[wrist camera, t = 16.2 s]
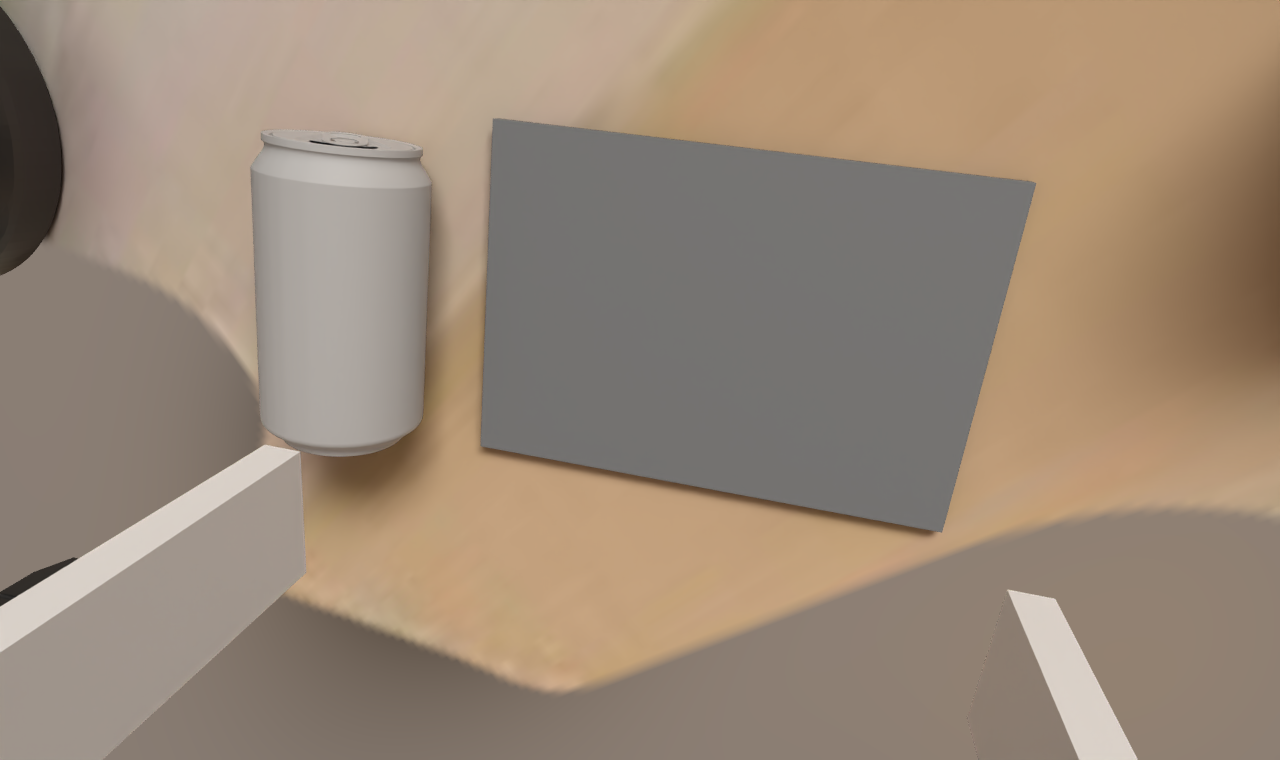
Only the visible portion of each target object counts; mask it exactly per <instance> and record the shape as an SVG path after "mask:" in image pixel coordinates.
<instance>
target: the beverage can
mask: <svg viewBox="0 0 1280 760" xmlns="http://www.w3.org/2000/svg"><path fill="white" fill-rule="evenodd" d="M261 140H262V141H263V142H264V147H263V149H262V151H261V152H260V154H259V155H258V156H257V157H256V159H255V160H254V162H253V163H252V165H251V193H252V218H253V244H254V270H255V296H256V321H257V347H258V373H259V399H260V418H261V421H262V424H263V426H264V427H265V428H266V429H267V430H268V431H269V432H270V433H272V434H273V435H275V436H277V437H279V438H281V439H283V440H284V441H285V442H286V443H287V444H288V445H290V446H291V447H293V448H295V449H297V450H300V451H303V452H306V453H311V454H315V455H321V456H333V457H346V456H358V455H365V454H370V453H374V452H378V451H381V450H384V449H386V448H388V447H390V446H392V445H394V444H395V443H397V442H398V441H399V440H400V439H401V438H402V437H403V436H405V435H407V434H409V433H410V432H412V431H413V430H414V429H415V428H416V427H417V426H418V425H419V424H420V422H421V420H422V418H423V407H424V380H425V353H426V326H427V299H428V273H429V246H430V219H431V192H432V182H431V180H430V178H429V176H428V174H427V173H426V171H425V169H424V168H423V166H422V164H421V161H420V157H421V156H423V148H422V147H420V146H417V145H414V144H410V143H406V142H401V141H395V140H389V139H383V138H376V137H369V136H363V135H359V134H354V133H346V132H322V131H307V130H264V131H261Z"/></svg>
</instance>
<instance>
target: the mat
mask: <svg viewBox="0 0 1280 760" xmlns="http://www.w3.org/2000/svg"><path fill="white" fill-rule="evenodd" d="M1035 186H1036V183H1034V182H1030V181H1022V180H1013V179H1005V178H996V177H988V176H979V175H971V174H962V173H954V172H946V171H937V170H929V169H920V168H912V167H903V166H895V165H887V164H878V163H870V162H861V161H853V160H844V159H836V158H827V157H819V156H811V155H802V154H794V153H785V152H777V151H768V150H760V149H751V148H743V147H735V146H726V145H718V144H709V143H701V142H692V141H684V140H675V139H667V138H659V137H650V136H642V135H633V134H625V133H616V132H608V131H599V130H591V129H583V128H574V127H566V126H557V125H549V124H540V123H532V122H523V121H515V120H507V119H493V132H492V158H491V184H490V211H489V237H488V264H487V290H486V316H485V343H484V369H483V396H482V422H481V446H482V447H488V448H493V449H498V450H504V451H509V452H514V453H520V454H525V455H530V456H536V457H541V458H546V459H552V460H557V461H562V462H568V463H573V464H578V465H584V466H589V467H595V468H600V469H605V470H611V471H616V472H621V473H627V474H632V475H637V476H643V477H648V478H653V479H659V480H664V481H669V482H675V483H680V484H685V485H691V486H696V487H701V488H707V489H712V490H717V491H723V492H728V493H734V494H739V495H744V496H750V497H755V498H760V499H766V500H771V501H776V502H782V503H787V504H792V505H798V506H803V507H808V508H814V509H819V510H824V511H830V512H835V513H840V514H846V515H851V516H856V517H862V518H867V519H872V520H878V521H883V522H889V523H894V524H899V525H905V526H910V527H915V528H921V529H926V530H931V531H937V532H942V531H943V527H944V523H945V520H946V516H947V512H948V509H949V505H950V501H951V497H952V494H953V490H954V486H955V483H956V479H957V475H958V472H959V468H960V464H961V460H962V457H963V453H964V449H965V446H966V442H967V438H968V434H969V431H970V427H971V423H972V420H973V416H974V412H975V408H976V405H977V401H978V397H979V394H980V390H981V386H982V382H983V379H984V375H985V371H986V368H987V364H988V360H989V356H990V353H991V349H992V345H993V342H994V338H995V334H996V331H997V327H998V323H999V319H1000V316H1001V312H1002V308H1003V305H1004V301H1005V297H1006V293H1007V290H1008V286H1009V282H1010V279H1011V275H1012V271H1013V267H1014V264H1015V260H1016V256H1017V253H1018V249H1019V245H1020V241H1021V238H1022V234H1023V230H1024V227H1025V223H1026V219H1027V215H1028V212H1029V208H1030V204H1031V201H1032V197H1033V193H1034V189H1035Z"/></svg>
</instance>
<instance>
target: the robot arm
mask: <svg viewBox="0 0 1280 760" xmlns="http://www.w3.org/2000/svg"><path fill="white" fill-rule="evenodd" d="M60 185H61V148H60V139H59V133H58V127H57V122H56V118H55V113H54V109H53V106H52V103H51V99H50V96H49V93H48V90H47V87H46V85H45V82H44V80H43V77H42V75H41V72H40V70H39V68H38V66H37V64H36V62H35V60H34V57H33V56H32V54H31V52H30V50H29V48H28V46H27V44H26V43H25V41H24V39H23V38H22V36H21V35H20V33H19V31H18V30H17V28H16V27H15V25H14V24H13V23H12V21H11V20H10V18H9V17H8V16H7V14H6V13H5V12H4V10H3V9H2V8H1V7H0V275H2V274H5V273H7V272H9V271H11V270H13V269H14V268H16V267H17V266H19V265H20V264H21V263H23V262H24V261H25V260H26V259H28V258H29V257H30V255H32V254H33V252H34V251H35V250H36V249H37V248H38V246H39V245H40V243H41V242H42V240H43V239H44V237H45V235H46V233H47V231H48V230H49V227H50V225H51V223H52V220H53V217H54V214H55V211H56V207H57V203H58V199H59V192H60ZM305 573H306V556H305V536H304V515H303V494H302V474H301V453H300V452H299V451H294V450H289V449H284V448H279V447H274V446H269V445H264V446H262V447H260V448H259V449H257V450H255V451H254V452H252V453H251V454H249V455H247V456H246V457H244V458H242V459H241V460H239V461H237V462H236V463H234V464H233V465H231V466H229V467H228V468H226V469H224V470H223V471H221V472H220V473H218V474H216V475H215V476H213V477H211V478H210V479H208V480H207V481H205V482H203V483H202V484H200V485H198V486H197V487H195V488H193V489H192V490H190V491H189V492H187V493H185V494H184V495H182V496H180V497H179V498H177V499H175V500H174V501H172V502H170V503H169V504H167V505H166V506H164V507H162V508H161V509H159V510H157V511H156V512H154V513H153V514H151V515H149V516H148V517H146V518H144V519H143V520H141V521H139V522H138V523H136V524H135V525H133V526H131V527H130V528H128V529H126V530H125V531H123V532H122V533H120V534H118V535H117V536H115V537H113V538H112V539H110V540H108V541H107V542H105V543H103V544H102V545H100V546H99V547H97V548H95V549H94V550H92V551H90V552H89V553H87V554H86V555H84V556H83V557H81V558H79V559H77V558H71V559H68V560H66V561H63V562H60V563H58V564H55V565H52V566H50V567H47V568H44V569H41V570H39V571H36V572H33V573H32V574H30V575H28V576H27V577H25V578H23V579H21V580H20V581H18V582H16V583H15V584H13V585H11V586H10V587H8V588H6V589H5V590H3V591H1V592H0V760H102V759H104V758H105V757H106V756H107V755H108V754H109V753H110V752H111V751H112V750H113V749H115V748H116V747H117V746H118V745H119V744H120V743H121V742H122V741H123V740H124V739H125V738H127V737H128V736H129V735H130V734H131V733H132V732H133V731H134V730H135V729H136V728H137V727H138V726H140V725H141V724H142V723H143V722H144V721H145V720H146V719H147V718H148V717H149V716H151V715H152V714H153V713H154V712H155V711H156V710H157V709H158V708H159V707H160V706H161V705H162V704H164V703H165V702H166V701H167V700H168V699H169V698H170V697H171V696H172V695H173V694H174V693H176V692H177V691H178V690H179V689H180V688H181V687H182V686H183V685H184V684H185V683H186V682H188V680H190V679H191V678H192V677H193V676H194V675H195V674H196V673H197V672H198V671H200V670H201V669H202V668H203V667H204V666H205V665H206V664H207V663H208V662H209V661H210V660H211V659H213V658H214V657H215V656H216V655H217V654H218V653H219V652H220V651H221V650H222V649H224V647H226V646H227V645H228V644H229V643H230V642H231V641H232V640H233V639H234V638H235V637H237V636H238V635H239V634H240V633H241V632H242V631H243V630H244V629H245V628H246V627H247V626H248V625H250V623H252V622H253V621H254V620H255V619H256V618H257V617H258V616H259V615H260V614H262V613H263V612H264V611H265V610H266V609H267V608H268V607H269V606H270V605H271V604H273V603H274V602H275V601H276V600H277V599H278V598H279V597H280V596H281V595H282V594H283V593H284V592H286V591H287V590H288V589H289V588H290V587H291V586H292V585H293V584H294V583H295V582H296V581H298V580H299V579H300V578H301V577H302V576H303V575H304V574H305ZM967 719H968V723H969V727H970V731H971V735H972V738H973V742H974V745H975V750H976V753H977V757H978V760H1138V759H1137V757H1136V756H1135V754H1134V752H1133V750H1132V748H1131V746H1130V744H1129V742H1128V740H1127V738H1126V736H1125V734H1124V732H1123V730H1122V728H1121V726H1120V724H1119V722H1118V720H1117V718H1116V716H1115V715H1114V713H1113V711H1112V709H1111V707H1110V705H1109V703H1108V701H1107V699H1106V697H1105V695H1104V693H1103V691H1102V689H1101V687H1100V685H1099V683H1098V681H1097V680H1096V678H1095V676H1094V674H1093V672H1092V670H1091V668H1090V666H1089V664H1088V662H1087V660H1086V658H1085V656H1084V654H1083V652H1082V650H1081V648H1080V646H1079V644H1078V642H1077V640H1076V639H1075V637H1074V635H1073V633H1072V631H1071V629H1070V627H1069V625H1068V623H1067V621H1066V619H1065V617H1064V615H1063V613H1062V611H1061V609H1060V607H1059V605H1058V603H1057V601H1056V600H1055V599H1053V598H1048V597H1043V596H1038V595H1033V594H1028V593H1023V592H1017V591H1012V590H1007V592H1006V595H1005V598H1004V602H1003V605H1002V608H1001V611H1000V614H999V618H998V621H997V624H996V627H995V631H994V634H993V637H992V640H991V643H990V647H989V650H988V653H987V656H986V659H985V662H984V666H983V669H982V672H981V675H980V679H979V682H978V685H977V688H976V691H975V695H974V698H973V701H972V704H971V708H970V711H969V714H968V717H967Z"/></svg>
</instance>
